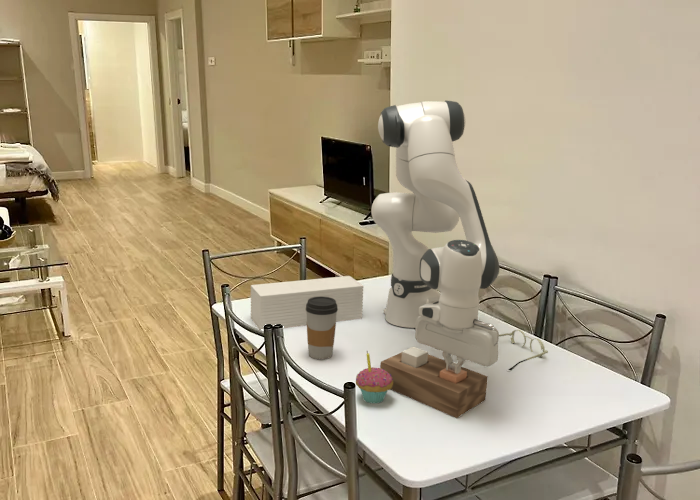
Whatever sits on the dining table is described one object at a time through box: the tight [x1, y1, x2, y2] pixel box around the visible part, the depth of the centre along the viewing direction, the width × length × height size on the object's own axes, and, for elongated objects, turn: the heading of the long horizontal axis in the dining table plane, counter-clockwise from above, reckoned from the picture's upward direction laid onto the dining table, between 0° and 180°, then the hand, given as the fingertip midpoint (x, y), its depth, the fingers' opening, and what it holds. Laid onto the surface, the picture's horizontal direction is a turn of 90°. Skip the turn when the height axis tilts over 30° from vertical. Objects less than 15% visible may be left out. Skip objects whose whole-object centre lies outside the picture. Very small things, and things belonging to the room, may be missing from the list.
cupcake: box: [355, 350, 393, 404], centre depth 147 cm, size 9×8×12 cm
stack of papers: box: [250, 275, 364, 329], centre depth 196 cm, size 32×11×11 cm, turn 113°
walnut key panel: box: [379, 351, 489, 419], centre depth 152 cm, size 12×22×6 cm, turn 47°
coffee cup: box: [306, 297, 338, 360], centre depth 169 cm, size 8×8×15 cm
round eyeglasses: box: [499, 329, 549, 371], centre depth 175 cm, size 17×15×5 cm
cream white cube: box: [401, 346, 429, 368], centre depth 155 cm, size 4×4×4 cm
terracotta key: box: [439, 368, 467, 384], centre depth 148 cm, size 4×4×4 cm
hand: (453, 371), depth 147 cm, fingers closed, pressing on terracotta key
